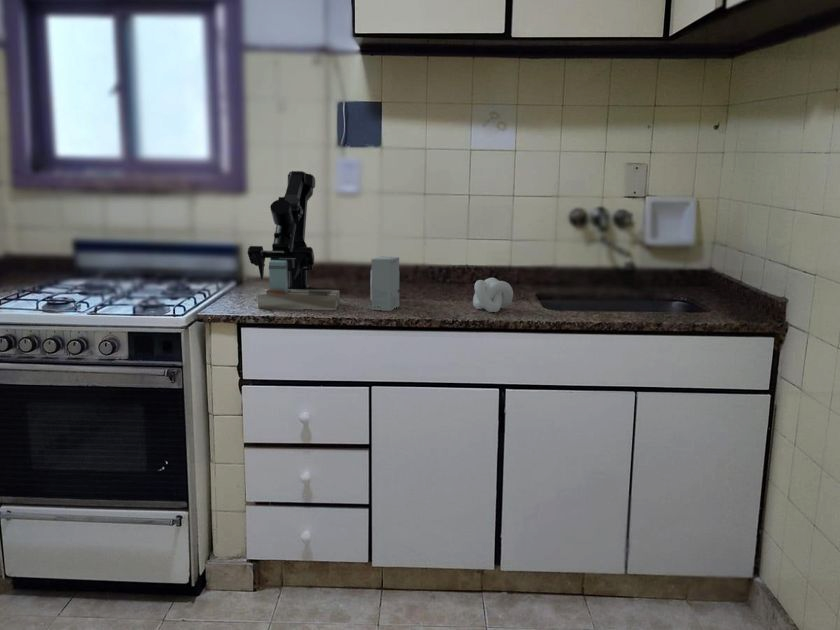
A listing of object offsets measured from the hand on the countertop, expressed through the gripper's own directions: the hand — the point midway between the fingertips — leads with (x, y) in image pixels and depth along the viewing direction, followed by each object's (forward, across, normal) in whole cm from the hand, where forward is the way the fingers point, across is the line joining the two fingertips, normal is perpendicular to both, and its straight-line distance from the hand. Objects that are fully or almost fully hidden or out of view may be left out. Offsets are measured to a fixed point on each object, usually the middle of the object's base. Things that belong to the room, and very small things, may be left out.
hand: (277, 278), depth 219 cm
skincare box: (+6, -31, -6) cm, 32 cm away
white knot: (+5, -62, -7) cm, 63 cm away
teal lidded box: (+4, 0, -6) cm, 8 cm away
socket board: (+5, -6, -7) cm, 10 cm away
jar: (-2, -30, -14) cm, 33 cm away
